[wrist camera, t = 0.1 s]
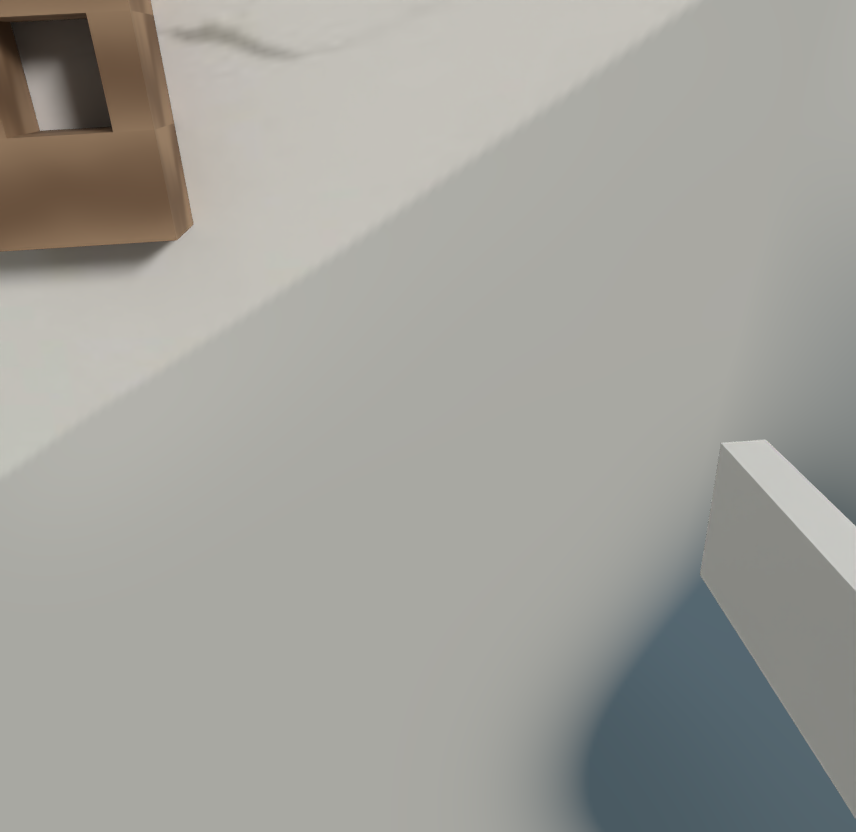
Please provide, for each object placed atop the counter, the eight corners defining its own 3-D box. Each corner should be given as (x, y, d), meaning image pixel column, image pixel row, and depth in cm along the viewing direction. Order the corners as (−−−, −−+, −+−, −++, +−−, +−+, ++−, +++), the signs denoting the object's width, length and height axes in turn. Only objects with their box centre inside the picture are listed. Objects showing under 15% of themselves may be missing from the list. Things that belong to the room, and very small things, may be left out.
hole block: (-69, -107, 30) (-120, -126, 27) (128, -116, 30) (100, -135, 27) (31, 234, 36) (-1, 251, 33) (193, 224, 36) (176, 240, 33)
